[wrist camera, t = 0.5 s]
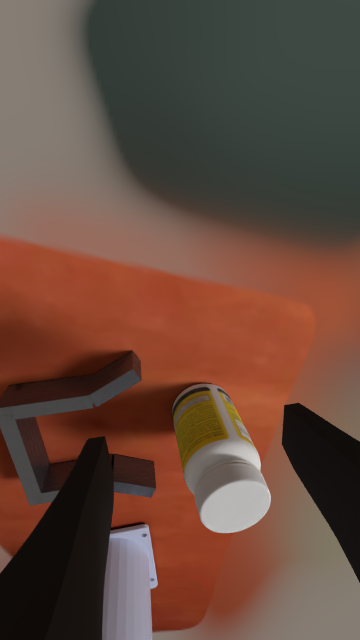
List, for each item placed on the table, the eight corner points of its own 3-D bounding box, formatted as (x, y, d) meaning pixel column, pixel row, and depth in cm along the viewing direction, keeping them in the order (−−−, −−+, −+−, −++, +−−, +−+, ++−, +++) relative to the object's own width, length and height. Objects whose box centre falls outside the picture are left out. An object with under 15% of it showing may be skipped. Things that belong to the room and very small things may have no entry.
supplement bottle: (163, 425, 23) (179, 535, 16) (182, 376, 22) (209, 470, 14) (217, 434, 24) (257, 540, 17) (239, 387, 23) (292, 481, 15)
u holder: (154, 469, 25) (157, 496, 22) (44, 488, 24) (35, 519, 21) (138, 349, 20) (139, 368, 18) (2, 367, 19) (-15, 389, 17)
